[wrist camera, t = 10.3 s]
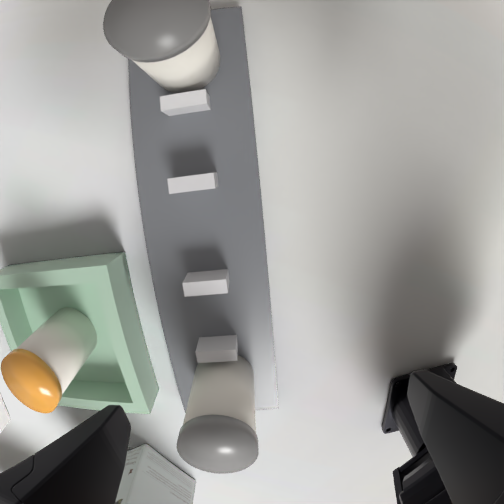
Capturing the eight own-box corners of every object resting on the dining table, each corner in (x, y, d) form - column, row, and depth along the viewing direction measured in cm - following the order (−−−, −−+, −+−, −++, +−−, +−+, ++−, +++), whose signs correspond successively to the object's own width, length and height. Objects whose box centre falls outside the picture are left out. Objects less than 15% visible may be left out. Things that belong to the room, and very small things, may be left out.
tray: (159, 389, 23) (150, 414, 20) (49, 382, 23) (34, 401, 20) (124, 251, 20) (106, 264, 17) (9, 265, 20) (-14, 276, 17)
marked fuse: (105, 356, 21) (67, 416, 14) (61, 355, 21) (19, 408, 14) (89, 304, 20) (38, 357, 13) (44, 307, 20) (-9, 353, 13)
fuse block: (277, 398, 23) (287, 481, 15) (187, 403, 23) (169, 484, 15) (241, 14, 16) (238, -62, 8) (134, 32, 16) (80, -26, 8)
